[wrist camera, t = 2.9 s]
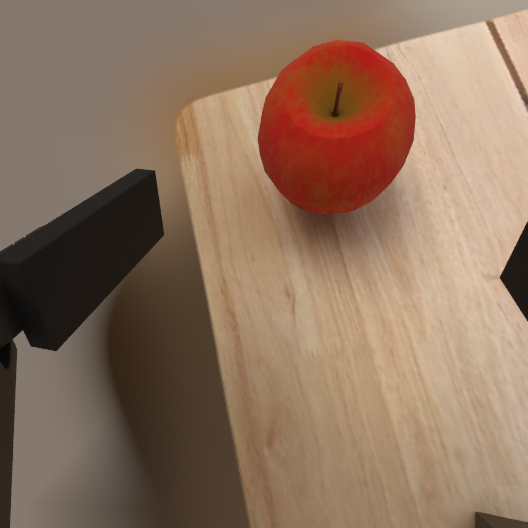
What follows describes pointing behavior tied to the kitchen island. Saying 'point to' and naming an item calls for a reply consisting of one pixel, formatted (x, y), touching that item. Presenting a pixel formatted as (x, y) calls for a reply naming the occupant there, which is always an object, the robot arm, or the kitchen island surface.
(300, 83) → the apple
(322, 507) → the kitchen island surface
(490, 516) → the kitchen scale
